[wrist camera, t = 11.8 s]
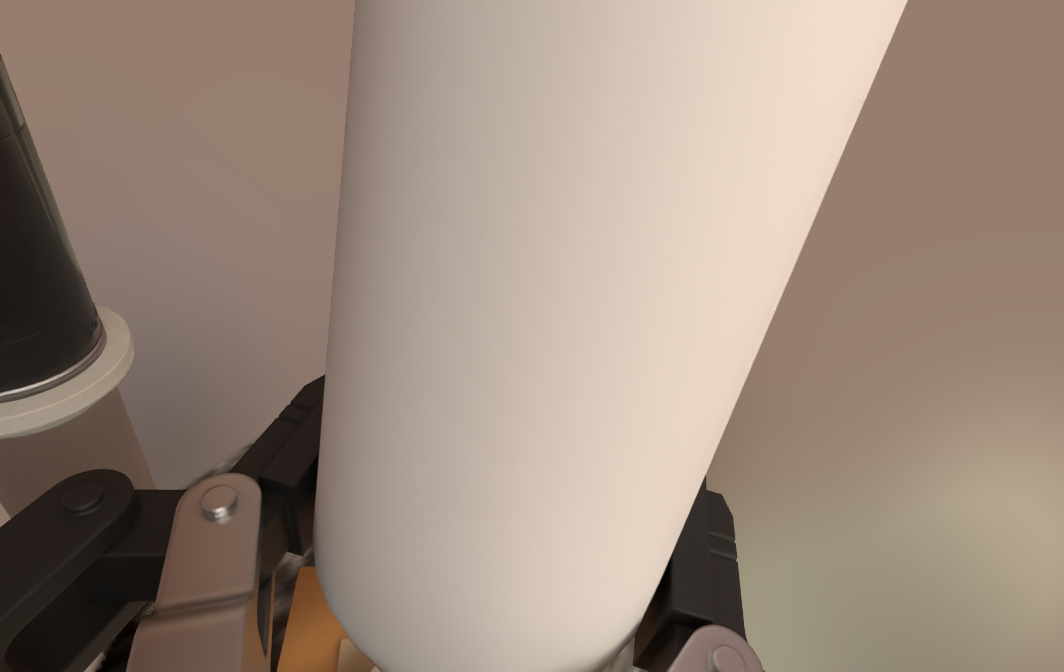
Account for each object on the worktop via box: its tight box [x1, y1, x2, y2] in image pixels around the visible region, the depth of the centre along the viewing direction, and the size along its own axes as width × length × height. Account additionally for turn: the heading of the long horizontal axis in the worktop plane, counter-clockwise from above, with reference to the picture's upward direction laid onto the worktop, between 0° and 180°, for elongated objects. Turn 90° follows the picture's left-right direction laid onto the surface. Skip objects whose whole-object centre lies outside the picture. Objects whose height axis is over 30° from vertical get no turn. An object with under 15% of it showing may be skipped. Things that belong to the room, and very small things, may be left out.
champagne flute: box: [312, 0, 907, 672], centre depth 11 cm, size 7×7×24 cm
